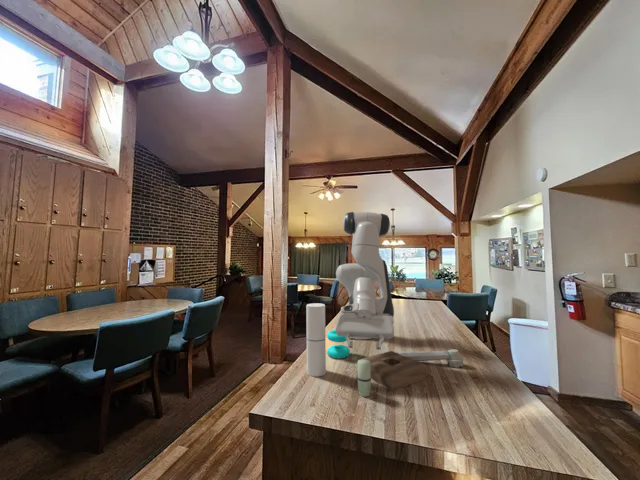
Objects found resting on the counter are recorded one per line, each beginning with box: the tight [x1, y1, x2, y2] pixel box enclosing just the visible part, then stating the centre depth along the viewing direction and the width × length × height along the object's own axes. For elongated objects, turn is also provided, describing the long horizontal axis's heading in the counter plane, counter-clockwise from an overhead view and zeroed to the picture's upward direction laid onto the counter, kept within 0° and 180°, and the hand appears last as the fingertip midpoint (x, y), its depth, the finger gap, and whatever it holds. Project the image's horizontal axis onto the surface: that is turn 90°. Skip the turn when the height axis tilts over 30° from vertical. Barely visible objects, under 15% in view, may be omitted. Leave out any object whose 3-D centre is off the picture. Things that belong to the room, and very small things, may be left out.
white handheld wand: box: [395, 348, 464, 369], centre depth 111 cm, size 5×7×25 cm
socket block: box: [359, 350, 426, 391], centre depth 100 cm, size 16×16×5 cm
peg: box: [357, 358, 372, 398], centre depth 87 cm, size 4×4×10 cm
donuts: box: [326, 329, 351, 359], centre depth 121 cm, size 10×10×10 cm
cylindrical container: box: [305, 302, 327, 377], centre depth 104 cm, size 7×7×25 cm
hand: (364, 347), depth 93 cm, fingers open, 8 cm apart
